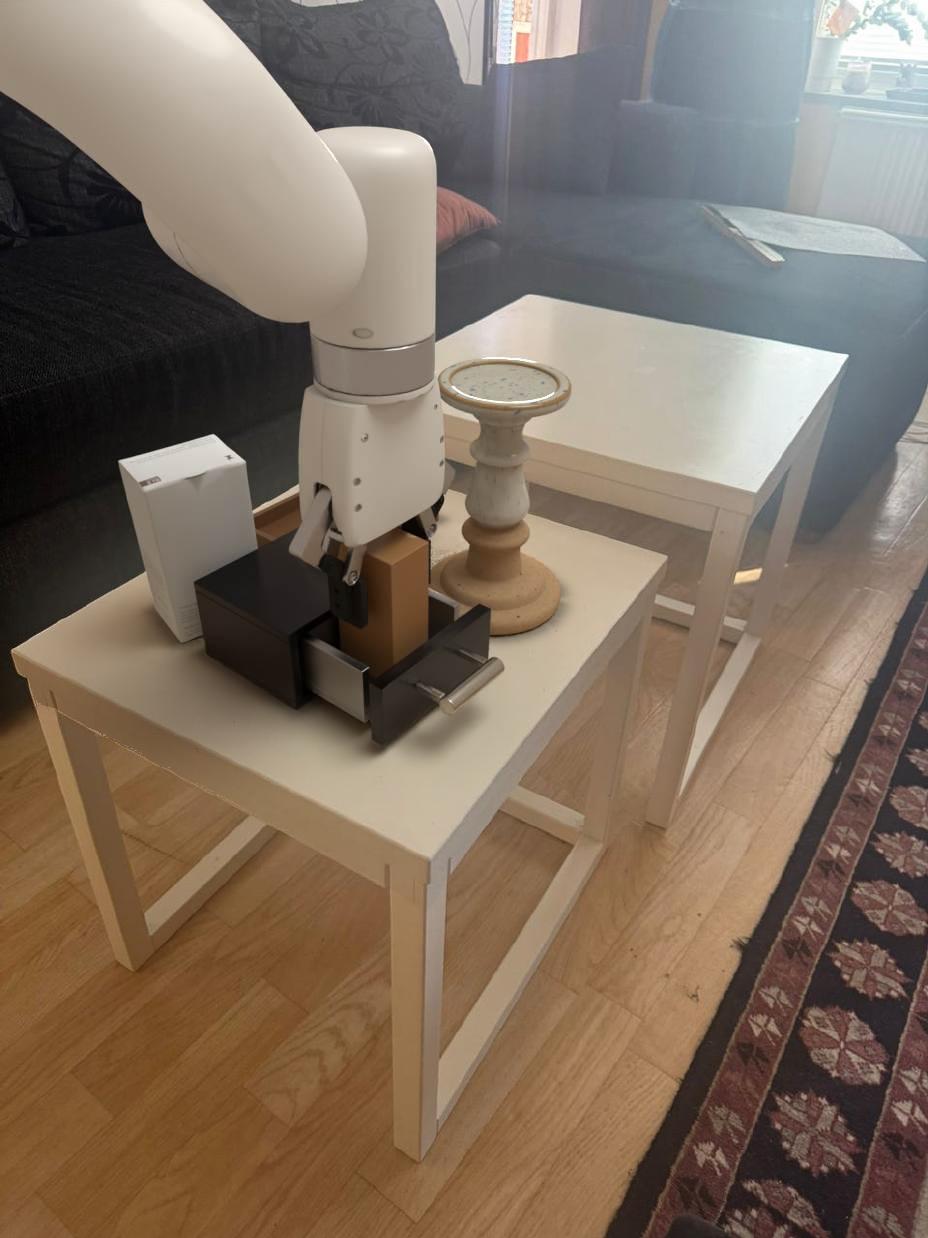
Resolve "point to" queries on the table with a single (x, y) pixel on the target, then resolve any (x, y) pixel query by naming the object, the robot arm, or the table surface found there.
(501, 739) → the table surface
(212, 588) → the black drawer housing
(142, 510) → the cosmetic box
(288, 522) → the tray
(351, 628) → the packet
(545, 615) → the candle holder
